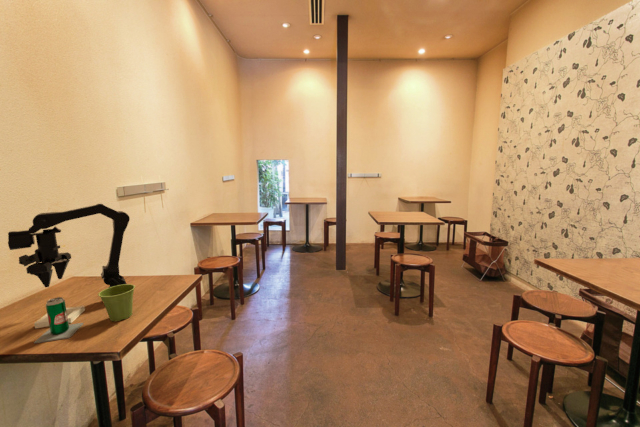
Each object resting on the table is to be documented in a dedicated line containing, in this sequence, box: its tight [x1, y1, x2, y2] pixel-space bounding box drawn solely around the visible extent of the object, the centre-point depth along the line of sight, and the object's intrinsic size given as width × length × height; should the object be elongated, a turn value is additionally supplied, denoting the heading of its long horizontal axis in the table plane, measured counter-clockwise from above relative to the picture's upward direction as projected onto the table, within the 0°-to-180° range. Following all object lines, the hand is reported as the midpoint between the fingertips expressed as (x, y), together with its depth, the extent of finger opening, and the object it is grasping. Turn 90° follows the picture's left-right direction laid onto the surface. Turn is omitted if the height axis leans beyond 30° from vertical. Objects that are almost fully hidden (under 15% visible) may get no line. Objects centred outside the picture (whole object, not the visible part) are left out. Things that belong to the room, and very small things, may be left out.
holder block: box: [34, 305, 86, 329], centre depth 117 cm, size 11×11×2 cm
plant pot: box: [98, 283, 136, 322], centre depth 115 cm, size 12×12×11 cm
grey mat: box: [33, 322, 84, 344], centre depth 106 cm, size 10×10×1 cm
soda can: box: [45, 296, 70, 335], centre depth 105 cm, size 5×5×12 cm
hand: (53, 282), depth 120 cm, fingers open, 9 cm apart
